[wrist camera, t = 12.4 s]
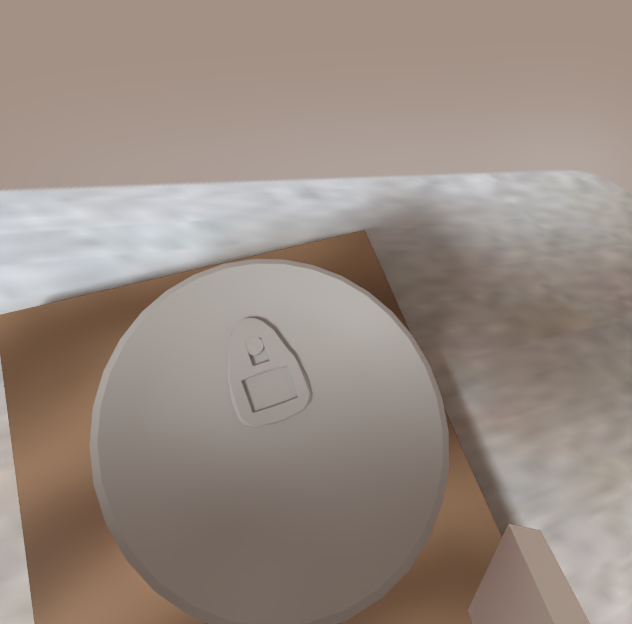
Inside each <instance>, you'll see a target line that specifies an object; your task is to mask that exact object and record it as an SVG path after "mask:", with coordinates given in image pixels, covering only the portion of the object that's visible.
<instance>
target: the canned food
mask: <svg viewBox="0 0 632 624" xmlns="http://www.w3.org/2000/svg"><path fill="white" fill-rule="evenodd" d="M89 447H90V457H91V466H92V476H93V485H94V488H95V491H96V495H97V498H98V501H99V504H100V507H101V510H102V513H103V517H104V520H105V523H106V525H107V527H108V529H109V530H110V532H111V534H112V536H113V538H114V539H115V541H116V543H117V545H118V546H119V548H120V550H121V552H122V553H123V555H124V557H125V559H126V560H127V562H128V563H129V564H130V565H131V566H132V567H133V568H134V569H135V570H136V571H137V573H138V574H139V575H140V576H141V577H142V578H143V579H144V580H145V581H146V583H147V584H148V585H149V586H150V587H151V588H152V589H153V590H154V591H155V592H156V593H157V594H159V595H160V596H162V597H163V598H164V599H166V600H167V601H169V602H170V603H172V604H173V605H174V606H176V607H177V608H179V609H180V610H182V611H183V612H184V613H186V614H187V615H189V616H191V617H193V618H196V619H198V620H201V621H203V622H206V623H208V624H337V623H340V622H343V621H346V620H348V619H350V618H352V617H353V616H355V615H356V614H358V613H359V612H361V611H362V610H364V609H366V608H367V607H369V606H370V605H372V604H373V603H375V602H376V601H378V600H380V599H381V598H382V597H383V596H384V595H385V594H386V593H387V592H388V591H389V590H390V589H391V588H392V587H393V586H394V585H395V584H396V583H397V582H398V581H399V580H400V579H401V578H402V577H403V576H404V575H405V574H406V573H407V572H408V571H409V569H410V568H411V566H412V565H413V563H414V562H415V560H416V558H417V557H418V555H419V554H420V552H421V550H422V549H423V547H424V546H425V544H426V543H427V541H428V539H429V538H430V535H431V532H432V530H433V527H434V525H435V522H436V519H437V517H438V514H439V511H440V509H441V506H442V503H443V498H444V493H445V487H446V481H447V475H448V469H449V431H448V426H447V420H446V415H445V410H444V405H443V400H442V396H441V393H440V390H439V388H438V385H437V382H436V380H435V377H434V374H433V372H432V369H431V366H430V364H429V363H428V361H427V359H426V357H425V356H424V354H423V352H422V351H421V349H420V347H419V346H418V344H417V342H416V340H415V339H414V337H413V336H412V335H411V333H410V332H409V331H408V330H407V329H406V327H405V326H404V325H403V324H402V323H401V321H400V320H399V319H398V318H397V317H396V316H395V314H394V313H393V312H392V311H391V310H390V309H388V308H387V307H386V306H385V305H384V304H382V303H381V302H380V301H379V300H378V299H377V298H375V297H374V296H373V295H372V294H371V293H370V292H368V291H366V290H365V289H363V288H361V287H360V286H358V285H356V284H355V283H353V282H351V281H350V280H348V279H346V278H345V277H343V276H341V275H338V274H335V273H333V272H330V271H328V270H325V269H322V268H320V267H317V266H314V265H310V264H305V263H300V262H294V261H289V260H284V259H251V260H245V261H239V262H233V263H226V264H222V265H219V266H216V267H214V268H211V269H208V270H205V271H203V272H200V273H197V274H194V275H192V276H191V277H189V278H187V279H186V280H184V281H182V282H180V283H179V284H177V285H175V286H174V287H172V288H170V289H168V290H167V291H165V292H164V293H163V294H162V295H161V296H160V297H158V298H157V299H156V300H155V301H154V302H153V303H152V304H150V305H149V306H148V307H147V308H146V309H145V310H143V311H142V312H141V313H140V315H139V316H138V317H137V318H136V320H135V321H134V322H133V324H132V325H131V326H130V327H129V329H128V330H127V331H126V332H125V334H124V335H123V336H122V337H121V339H120V340H119V342H118V344H117V346H116V348H115V350H114V352H113V354H112V356H111V358H110V360H109V361H108V363H107V365H106V367H105V369H104V371H103V374H102V378H101V381H100V385H99V388H98V391H97V395H96V398H95V401H94V405H93V411H92V422H91V432H90V443H89Z"/></svg>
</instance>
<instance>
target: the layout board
mask: <svg viewBox="0 0 632 624" xmlns="http://www.w3.org/2000/svg"><path fill="white" fill-rule="evenodd" d="M251 259H284V260H289V261H294V262H300V263H305V264H310V265H314V266H317V267H320V268H322V269H325V270H328V271H330V272H333V273H335V274H338V275H341V276H343V277H345V278H346V279H348V280H350V281H351V282H353V283H355V284H356V285H358V286H360V287H361V288H363V289H365V290H366V291H368V292H370V293H371V294H372V295H373V296H374V297H375V298H377V299H378V300H379V301H380V302H381V303H382V304H384V305H385V306H386V307H387V308H388V309H390V310H391V311H392V312H393V313H394V314H395V316H396V317H397V318H398V319H399V320H400V321H401V323H402V324H403V325H404V326H405V327H406V329H407V330H408V331H409V328H408V326H407V324H406V322H405V319H404V317H403V315H402V313H401V310H400V308H399V306H398V304H397V302H396V299H395V297H394V295H393V293H392V290H391V288H390V286H389V284H388V281H387V279H386V277H385V275H384V272H383V270H382V268H381V266H380V263H379V261H378V259H377V257H376V255H375V252H374V250H373V248H372V246H371V243H370V241H369V239H368V237H367V234H366V232H365V230H363V231H359V232H354V233H350V234H346V235H341V236H337V237H333V238H329V239H324V240H320V241H316V242H311V243H307V244H303V245H298V246H294V247H290V248H286V249H281V250H277V251H273V252H268V253H264V254H260V255H255V256H251V257H247V258H243V259H238V260H234V261H230V262H225V263H221V264H217V265H212V266H208V267H204V268H200V269H195V270H191V271H187V272H182V273H178V274H174V275H169V276H165V277H161V278H156V279H152V280H148V281H144V282H139V283H135V284H131V285H126V286H122V287H118V288H113V289H109V290H105V291H101V292H96V293H92V294H88V295H83V296H79V297H75V298H70V299H66V300H62V301H58V302H53V303H49V304H45V305H40V306H36V307H32V308H27V309H23V310H19V311H15V312H10V313H6V314H2V315H0V356H1V364H2V372H3V380H4V387H5V395H6V403H7V411H8V419H9V427H10V434H11V442H12V450H13V458H14V466H15V473H16V481H17V489H18V497H19V505H20V513H21V520H22V528H23V536H24V544H25V552H26V560H27V567H28V575H29V583H30V591H31V599H32V607H33V614H34V622H35V624H208V623H206V622H203V621H201V620H198V619H196V618H193V617H191V616H189V615H187V614H186V613H184V612H183V611H182V610H180V609H179V608H177V607H176V606H174V605H173V604H172V603H170V602H169V601H167V600H166V599H164V598H163V597H162V596H160V595H159V594H157V593H156V592H155V591H154V590H153V589H152V588H151V587H150V586H149V585H148V584H147V583H146V581H145V580H144V579H143V578H142V577H141V576H140V575H139V574H138V573H137V571H136V570H135V569H134V568H133V567H132V566H131V565H130V564H129V563H128V562H127V560H126V559H125V557H124V555H123V553H122V552H121V550H120V548H119V546H118V545H117V543H116V541H115V539H114V538H113V536H112V534H111V532H110V530H109V529H108V527H107V525H106V523H105V520H104V517H103V513H102V510H101V507H100V504H99V501H98V498H97V495H96V491H95V488H94V485H93V476H92V466H91V457H90V447H89V443H90V432H91V422H92V411H93V405H94V401H95V398H96V395H97V391H98V388H99V385H100V381H101V378H102V374H103V371H104V369H105V367H106V365H107V363H108V361H109V360H110V358H111V356H112V354H113V352H114V350H115V348H116V346H117V344H118V342H119V340H120V339H121V337H122V336H123V335H124V334H125V332H126V331H127V330H128V329H129V327H130V326H131V325H132V324H133V322H134V321H135V320H136V318H137V317H138V316H139V315H140V313H141V312H142V311H143V310H145V309H146V308H147V307H148V306H149V305H150V304H152V303H153V302H154V301H155V300H156V299H157V298H158V297H160V296H161V295H162V294H163V293H164V292H165V291H167V290H168V289H170V288H172V287H174V286H175V285H177V284H179V283H180V282H182V281H184V280H186V279H187V278H189V277H191V276H192V275H194V274H197V273H200V272H203V271H205V270H208V269H211V268H214V267H216V266H219V265H222V264H226V263H233V262H239V261H245V260H251ZM409 332H410V331H409ZM444 410H445V409H444ZM445 415H446V420H447V426H448V431H449V469H448V475H447V481H446V487H445V493H444V498H443V503H442V506H441V509H440V511H439V514H438V517H437V519H436V522H435V525H434V527H433V530H432V532H431V535H430V538H429V539H428V541H427V543H426V544H425V546H424V547H423V549H422V550H421V552H420V554H419V555H418V557H417V558H416V560H415V562H414V563H413V565H412V566H411V568H410V569H409V571H408V572H407V573H406V574H405V575H404V576H403V577H402V578H401V579H400V580H399V581H398V582H397V583H396V584H395V585H394V586H393V587H392V588H391V589H390V590H389V591H388V592H387V593H386V594H385V595H384V596H383V597H382V598H381V599H380V600H378V601H376V602H375V603H373V604H372V605H370V606H369V607H367V608H366V609H364V610H362V611H361V612H359V613H358V614H356V615H355V616H353V617H352V618H350V619H348V620H346V621H343V622H340V623H337V624H472V622H471V618H470V615H469V611H468V609H469V606H470V604H471V602H472V600H473V598H474V596H475V594H476V592H477V590H478V587H479V585H480V583H481V581H482V579H483V577H484V575H485V573H486V570H487V568H488V566H489V564H490V562H491V560H492V558H493V556H494V553H495V551H496V549H497V547H498V545H499V543H500V541H501V539H502V536H501V534H500V532H499V530H498V527H497V525H496V523H495V521H494V519H493V516H492V514H491V512H490V510H489V507H488V505H487V503H486V501H485V498H484V496H483V494H482V492H481V489H480V487H479V485H478V483H477V481H476V478H475V476H474V474H473V472H472V469H471V467H470V465H469V463H468V460H467V458H466V456H465V454H464V451H463V449H462V447H461V445H460V442H459V440H458V438H457V436H456V434H455V431H454V429H453V427H452V425H451V422H450V420H449V418H448V416H447V413H446V411H445Z"/></svg>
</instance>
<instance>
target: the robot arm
mask: <svg viewBox="0 0 632 624" xmlns="http://www.w3.org/2000/svg"><path fill="white" fill-rule="evenodd" d="M468 611H469V615H470V618H471V622H472V624H590V623H589V621H588V619H587V617H586V615H585V613H584V611H583V610H582V608H581V606H580V604H579V602H578V600H577V598H576V596H575V594H574V593H573V591H572V589H571V587H570V585H569V583H568V581H567V579H566V578H565V576H564V574H563V572H562V570H561V568H560V566H559V564H558V562H557V561H556V559H555V557H554V555H553V553H552V551H551V549H550V547H549V546H548V544H547V542H546V540H545V538H544V536H543V534H542V532H541V531H540V530H536V529H531V528H526V527H522V526H517V525H513V524H508V526H507V528H506V530H505V532H504V534H503V537H502V539H501V541H500V543H499V545H498V547H497V549H496V551H495V553H494V556H493V558H492V560H491V562H490V564H489V566H488V568H487V570H486V573H485V575H484V577H483V579H482V581H481V583H480V585H479V587H478V590H477V592H476V594H475V596H474V598H473V600H472V602H471V604H470V606H469V609H468Z"/></svg>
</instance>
